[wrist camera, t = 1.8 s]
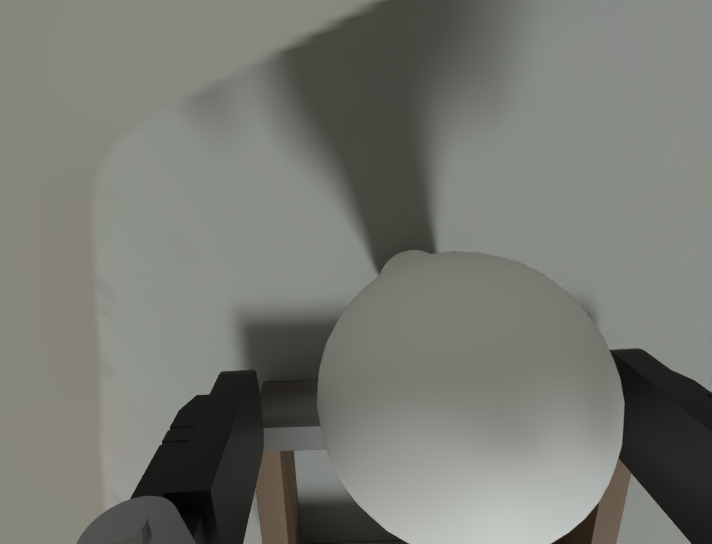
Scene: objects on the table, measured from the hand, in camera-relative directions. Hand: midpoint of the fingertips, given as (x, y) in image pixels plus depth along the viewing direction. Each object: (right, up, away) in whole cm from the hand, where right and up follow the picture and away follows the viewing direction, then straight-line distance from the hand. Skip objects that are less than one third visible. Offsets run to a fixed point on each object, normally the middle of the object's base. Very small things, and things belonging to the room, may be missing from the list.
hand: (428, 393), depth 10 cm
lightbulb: (0, +3, +7) cm, 7 cm away
